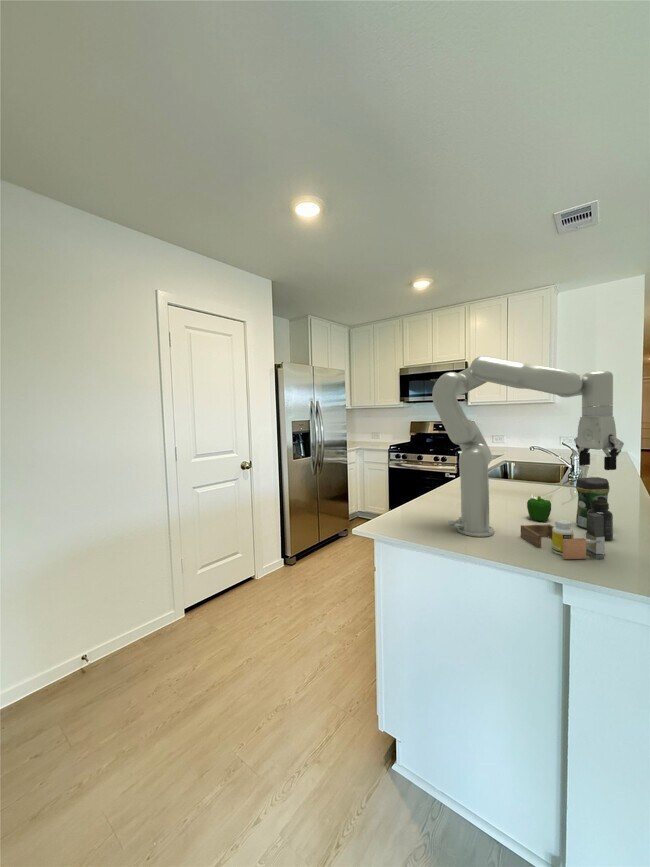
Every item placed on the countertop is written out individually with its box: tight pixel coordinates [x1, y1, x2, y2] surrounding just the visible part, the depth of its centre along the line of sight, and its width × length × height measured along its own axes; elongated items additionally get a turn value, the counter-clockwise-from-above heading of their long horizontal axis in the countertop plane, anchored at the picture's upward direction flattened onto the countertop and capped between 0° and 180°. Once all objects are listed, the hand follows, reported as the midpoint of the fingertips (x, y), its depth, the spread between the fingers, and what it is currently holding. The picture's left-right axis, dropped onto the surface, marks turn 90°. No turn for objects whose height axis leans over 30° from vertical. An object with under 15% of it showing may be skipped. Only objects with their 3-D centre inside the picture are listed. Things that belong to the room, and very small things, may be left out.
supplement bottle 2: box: [587, 501, 614, 541], centre depth 117 cm, size 7×7×12 cm
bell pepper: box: [526, 495, 552, 522], centre depth 138 cm, size 8×8×10 cm
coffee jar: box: [575, 476, 610, 530], centre depth 127 cm, size 10×8×19 cm
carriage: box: [562, 513, 606, 560], centre depth 103 cm, size 12×4×12 cm, turn 89°
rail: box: [586, 549, 605, 560], centre depth 110 cm, size 2×18×1 cm, turn 179°
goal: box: [520, 524, 555, 548], centre depth 116 cm, size 10×10×4 cm
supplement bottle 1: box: [551, 519, 574, 556], centre depth 106 cm, size 5×5×10 cm
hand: (596, 467), depth 107 cm, fingers open, 9 cm apart
